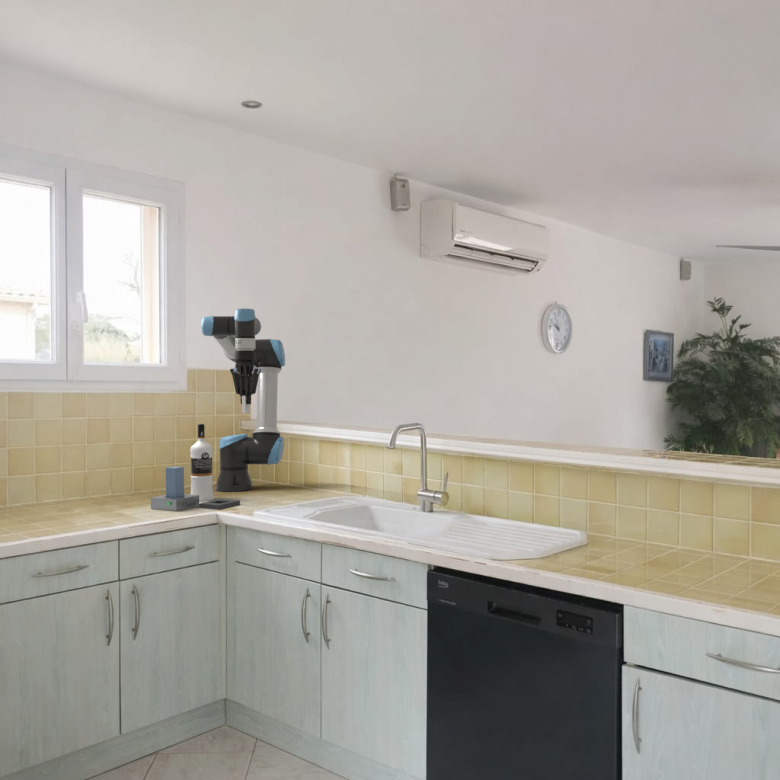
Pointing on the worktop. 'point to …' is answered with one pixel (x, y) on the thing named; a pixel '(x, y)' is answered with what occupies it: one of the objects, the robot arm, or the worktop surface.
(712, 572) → the worktop surface
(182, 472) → the plug
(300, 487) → the worktop surface
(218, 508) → the dark grey flat frame
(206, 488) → the vodka
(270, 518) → the worktop surface
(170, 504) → the block
